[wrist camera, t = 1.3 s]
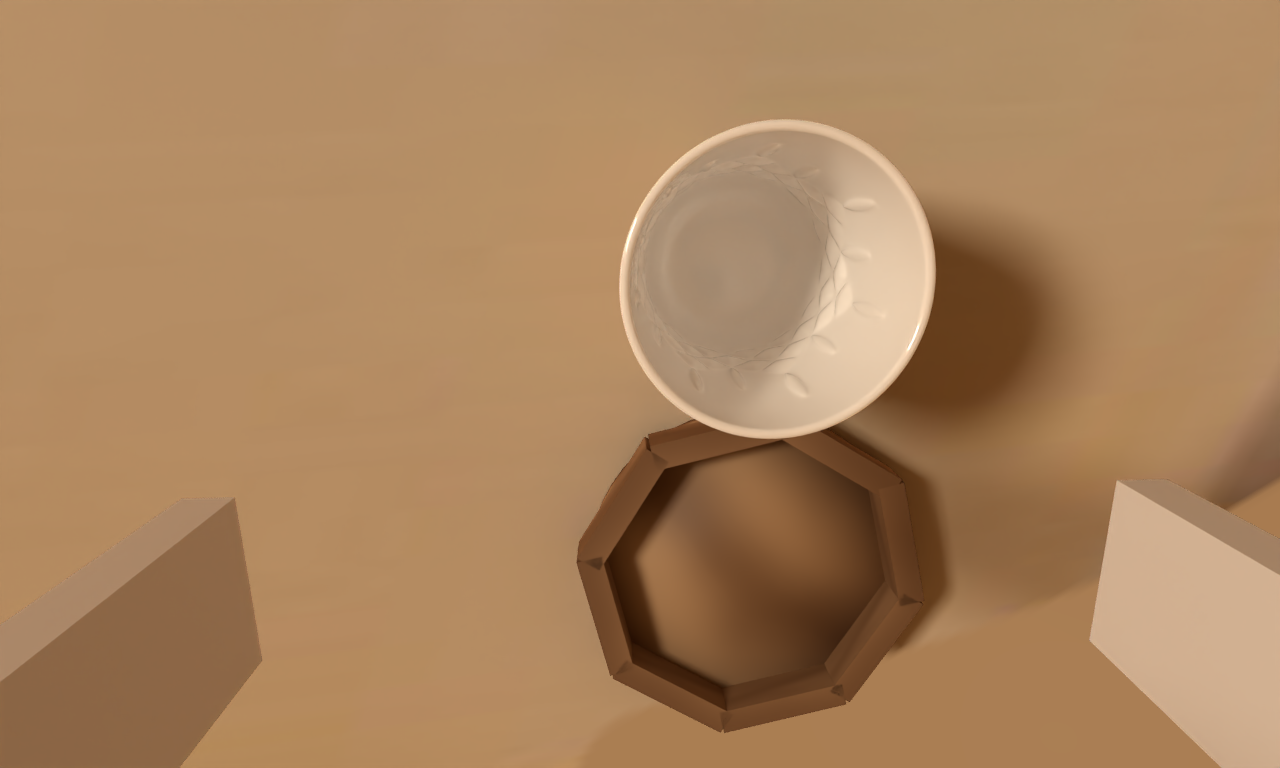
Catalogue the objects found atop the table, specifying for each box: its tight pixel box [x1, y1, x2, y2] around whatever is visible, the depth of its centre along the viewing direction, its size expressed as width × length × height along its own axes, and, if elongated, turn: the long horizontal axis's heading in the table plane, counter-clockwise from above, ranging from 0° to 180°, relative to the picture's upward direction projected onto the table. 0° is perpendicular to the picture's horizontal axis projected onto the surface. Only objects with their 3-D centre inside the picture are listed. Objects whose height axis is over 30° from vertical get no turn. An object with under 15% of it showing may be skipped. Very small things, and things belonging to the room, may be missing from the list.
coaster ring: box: [577, 419, 924, 733], centre depth 29 cm, size 13×13×2 cm
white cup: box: [619, 119, 936, 439], centre depth 23 cm, size 8×8×10 cm
